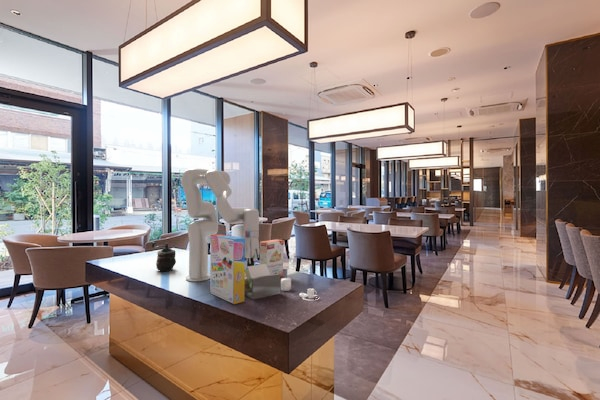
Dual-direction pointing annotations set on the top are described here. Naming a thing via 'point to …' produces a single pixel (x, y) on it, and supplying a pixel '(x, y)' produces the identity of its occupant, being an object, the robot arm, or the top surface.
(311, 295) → the teacup and saucer
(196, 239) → the robot arm
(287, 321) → the top surface
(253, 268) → the carton
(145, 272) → the top surface
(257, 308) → the top surface
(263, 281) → the stand
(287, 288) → the white rounded block
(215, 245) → the game box
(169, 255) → the coffee grinder
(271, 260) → the cracker box
